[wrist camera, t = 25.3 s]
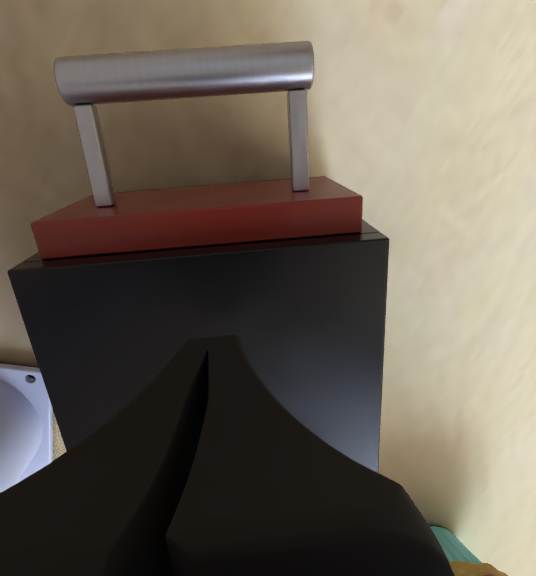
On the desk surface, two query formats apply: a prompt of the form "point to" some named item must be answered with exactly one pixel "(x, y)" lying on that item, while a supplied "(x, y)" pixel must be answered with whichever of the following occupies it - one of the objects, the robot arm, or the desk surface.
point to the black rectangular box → (217, 327)
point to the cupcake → (462, 556)
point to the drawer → (199, 199)
